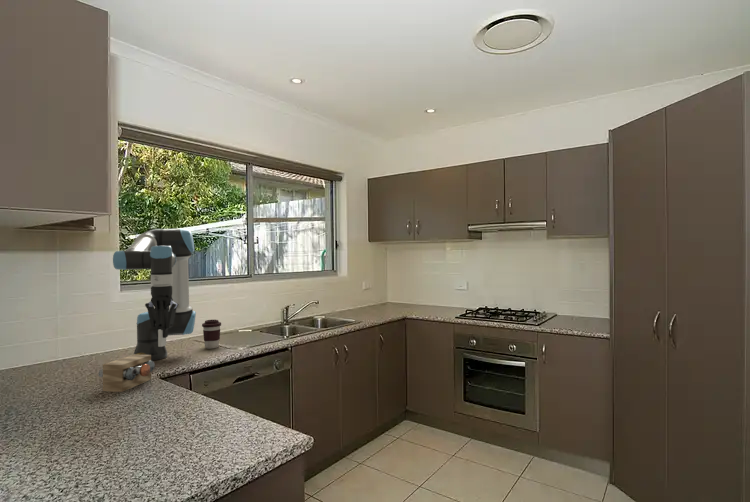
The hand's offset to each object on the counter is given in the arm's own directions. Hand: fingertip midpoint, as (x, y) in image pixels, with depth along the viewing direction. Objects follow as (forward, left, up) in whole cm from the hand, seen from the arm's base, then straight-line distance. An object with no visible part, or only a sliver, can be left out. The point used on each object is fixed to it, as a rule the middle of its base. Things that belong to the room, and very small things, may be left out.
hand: (162, 345), depth 163 cm
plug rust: (+1, -13, -12) cm, 18 cm away
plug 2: (-5, -15, -12) cm, 20 cm away
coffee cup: (-67, -19, -16) cm, 72 cm away
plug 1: (+6, -15, -12) cm, 20 cm away
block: (+1, -15, -16) cm, 21 cm away
